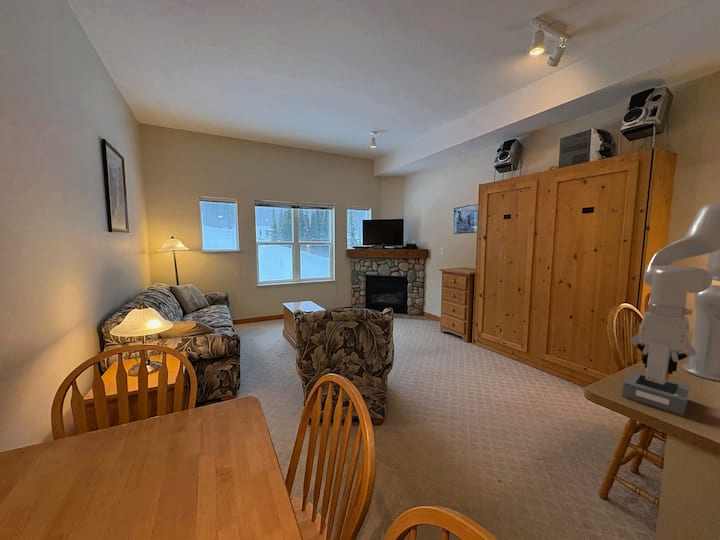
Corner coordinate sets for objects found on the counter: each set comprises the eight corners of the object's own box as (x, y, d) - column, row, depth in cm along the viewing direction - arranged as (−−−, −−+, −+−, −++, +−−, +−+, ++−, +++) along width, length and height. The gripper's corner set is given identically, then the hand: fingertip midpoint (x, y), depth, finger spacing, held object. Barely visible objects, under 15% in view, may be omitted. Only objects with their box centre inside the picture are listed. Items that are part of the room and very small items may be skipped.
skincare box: (664, 385, 90) (669, 345, 88) (644, 379, 93) (649, 341, 92) (670, 379, 93) (674, 341, 91) (651, 374, 96) (655, 337, 95)
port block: (631, 383, 103) (633, 369, 102) (688, 399, 93) (690, 384, 92) (622, 396, 95) (623, 381, 94) (683, 416, 85) (685, 399, 84)
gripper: (710, 314, 86) (701, 376, 89) (631, 303, 99) (625, 357, 102) (708, 319, 82) (699, 384, 84) (625, 307, 95) (619, 363, 97)
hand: (658, 369), depth 93 cm, fingers closed on skincare box, 4 cm apart
